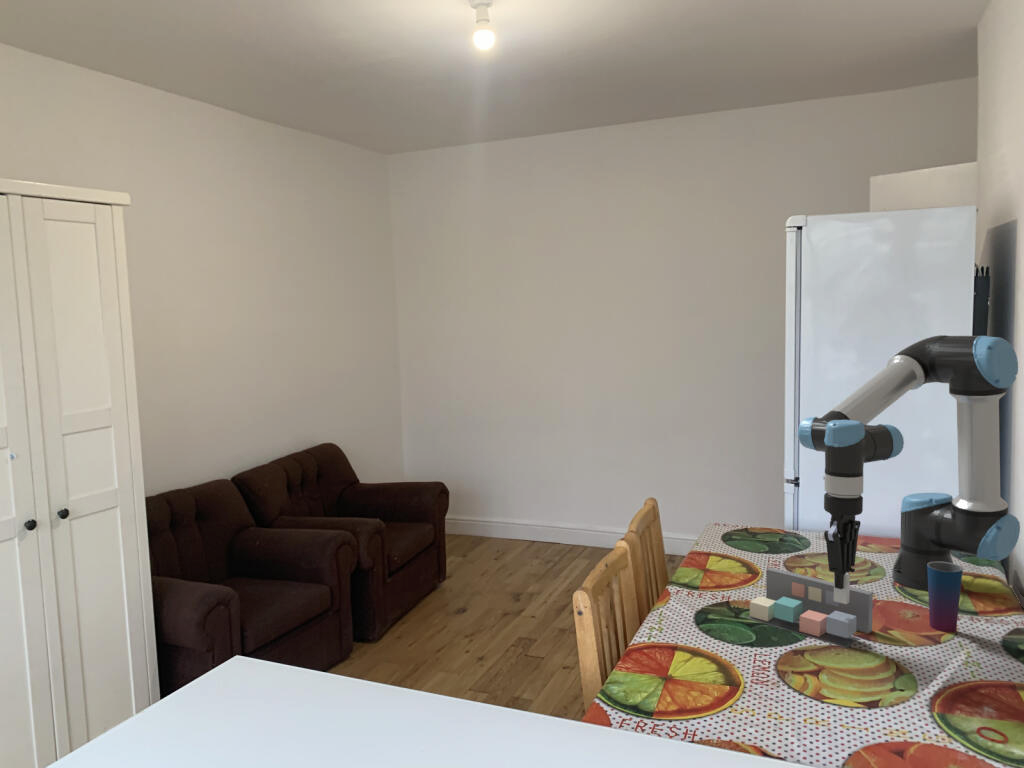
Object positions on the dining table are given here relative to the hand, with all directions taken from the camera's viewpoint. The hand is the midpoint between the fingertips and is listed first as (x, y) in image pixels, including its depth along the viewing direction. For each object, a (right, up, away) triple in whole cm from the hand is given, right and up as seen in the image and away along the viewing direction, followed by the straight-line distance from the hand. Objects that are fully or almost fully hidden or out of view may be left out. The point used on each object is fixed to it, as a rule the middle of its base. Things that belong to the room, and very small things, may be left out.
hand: (841, 601), depth 163 cm
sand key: (-12, -7, +14) cm, 20 cm away
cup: (+25, -9, +6) cm, 27 cm away
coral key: (-4, -8, +5) cm, 10 cm away
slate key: (0, -7, +1) cm, 7 cm away
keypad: (-5, -9, +9) cm, 13 cm away
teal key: (-8, -6, +9) cm, 14 cm away
